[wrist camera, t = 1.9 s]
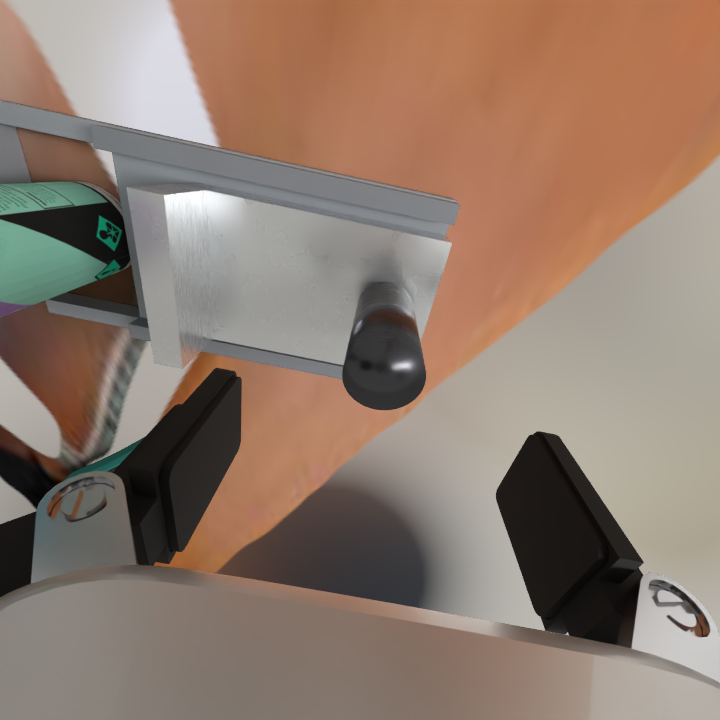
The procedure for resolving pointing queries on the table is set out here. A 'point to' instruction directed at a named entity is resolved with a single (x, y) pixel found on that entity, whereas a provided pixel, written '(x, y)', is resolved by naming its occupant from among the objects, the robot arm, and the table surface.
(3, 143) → the vise frame
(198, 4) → the table surface
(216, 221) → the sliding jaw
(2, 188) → the spray can
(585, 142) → the table surface
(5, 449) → the table surface
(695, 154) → the table surface
